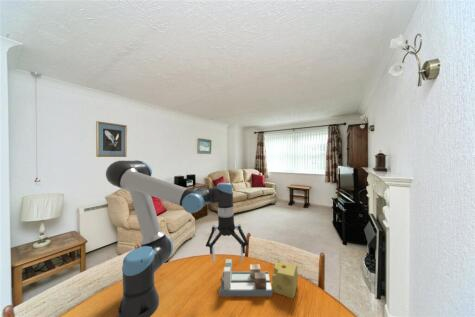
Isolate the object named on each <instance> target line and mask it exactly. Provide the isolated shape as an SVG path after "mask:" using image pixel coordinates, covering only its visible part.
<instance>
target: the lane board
mask: <svg viewBox="0 0 475 317" xmlns="http://www.w3.org/2000/svg"><path fill="white" fill-rule="evenodd" d="M263 272H265V274H269V271H267V270H265V271H263ZM232 274H250V271H232ZM220 283H221V284H220V289H219V290H218V292H219V297H273V292H272V289H224V271H222V278H221V281H220ZM231 283H255V280H231ZM266 283H271V279H270V280H266Z"/></svg>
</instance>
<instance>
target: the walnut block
mask: <svg viewBox="0 0 475 317" xmlns="http://www.w3.org/2000/svg"><path fill="white" fill-rule="evenodd" d="M255 289H266V275H265V272H264V271H260V273H255Z"/></svg>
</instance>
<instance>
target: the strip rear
mask: <svg viewBox="0 0 475 317" xmlns="http://www.w3.org/2000/svg"><path fill="white" fill-rule="evenodd" d="M224 265H225V266H224V267H231V280H251V278H250V274H232V272H233V260H232V258H225V264H224ZM265 275H266V280H270V281H271V279H270V274H269V273H268V274H265Z"/></svg>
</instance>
